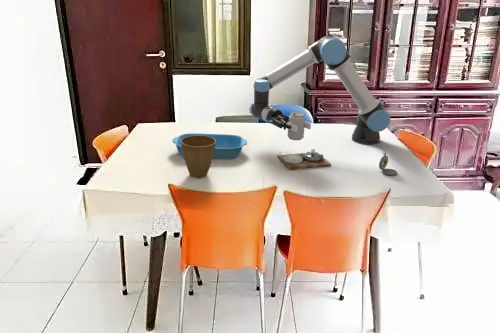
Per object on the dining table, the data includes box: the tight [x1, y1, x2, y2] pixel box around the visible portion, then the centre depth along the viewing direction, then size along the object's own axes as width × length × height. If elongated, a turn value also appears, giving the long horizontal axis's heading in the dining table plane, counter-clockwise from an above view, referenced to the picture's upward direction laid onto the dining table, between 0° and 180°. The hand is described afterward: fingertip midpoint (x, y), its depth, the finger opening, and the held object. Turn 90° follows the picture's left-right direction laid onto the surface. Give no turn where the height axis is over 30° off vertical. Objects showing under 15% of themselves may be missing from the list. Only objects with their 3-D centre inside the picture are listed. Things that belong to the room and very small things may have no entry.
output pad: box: [283, 154, 303, 164], centre depth 205 cm, size 9×9×1 cm
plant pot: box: [181, 135, 216, 179], centre depth 187 cm, size 15×15×16 cm
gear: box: [302, 148, 325, 163], centre depth 207 cm, size 11×11×5 cm
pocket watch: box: [378, 151, 398, 176], centre depth 196 cm, size 8×8×10 cm
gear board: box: [276, 151, 332, 171], centre depth 207 cm, size 21×16×2 cm
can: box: [287, 111, 306, 141], centre depth 200 cm, size 8×8×12 cm
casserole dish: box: [172, 132, 248, 160], centre depth 215 cm, size 37×22×7 cm, turn 91°
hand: (303, 127), depth 196 cm, fingers closed on can, 7 cm apart
